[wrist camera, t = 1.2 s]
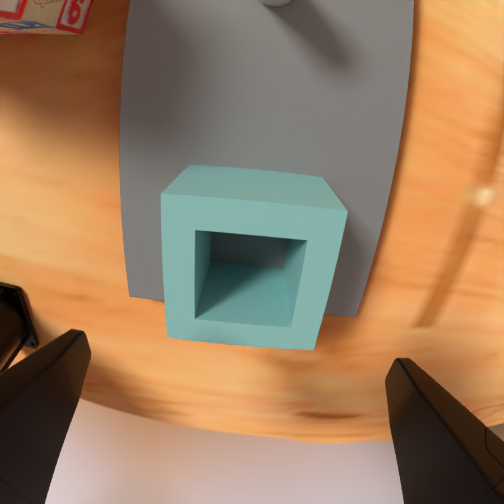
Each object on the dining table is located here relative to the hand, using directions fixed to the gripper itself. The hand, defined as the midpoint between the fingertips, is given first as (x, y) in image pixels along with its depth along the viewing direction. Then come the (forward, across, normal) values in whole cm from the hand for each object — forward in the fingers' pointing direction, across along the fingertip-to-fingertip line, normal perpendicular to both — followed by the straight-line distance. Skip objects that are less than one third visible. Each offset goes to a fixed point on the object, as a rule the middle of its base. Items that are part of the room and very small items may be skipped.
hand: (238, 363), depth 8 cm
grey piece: (+11, 0, -7) cm, 13 cm away
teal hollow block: (+9, 0, 0) cm, 9 cm away
